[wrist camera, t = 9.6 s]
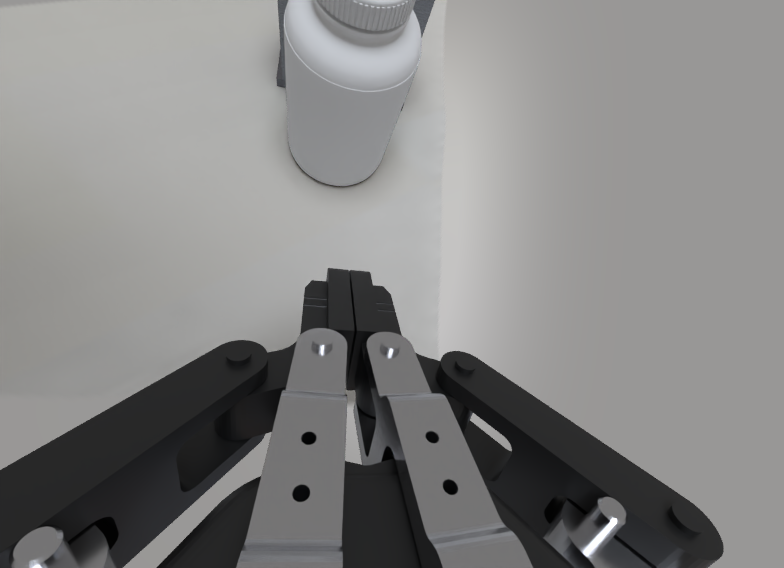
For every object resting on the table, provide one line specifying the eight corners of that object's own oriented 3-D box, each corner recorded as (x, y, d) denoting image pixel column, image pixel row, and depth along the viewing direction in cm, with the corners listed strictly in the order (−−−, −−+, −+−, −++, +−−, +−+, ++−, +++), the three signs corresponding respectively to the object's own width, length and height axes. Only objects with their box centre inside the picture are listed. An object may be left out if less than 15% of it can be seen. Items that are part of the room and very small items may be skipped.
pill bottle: (375, 199, 31) (438, 47, 17) (278, 175, 29) (256, -15, 15) (389, 121, 33) (455, -71, 19) (299, 95, 31) (297, -136, 17)
